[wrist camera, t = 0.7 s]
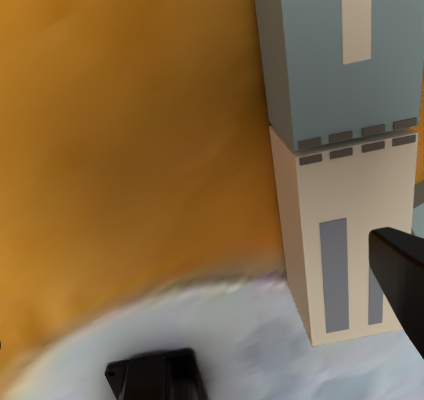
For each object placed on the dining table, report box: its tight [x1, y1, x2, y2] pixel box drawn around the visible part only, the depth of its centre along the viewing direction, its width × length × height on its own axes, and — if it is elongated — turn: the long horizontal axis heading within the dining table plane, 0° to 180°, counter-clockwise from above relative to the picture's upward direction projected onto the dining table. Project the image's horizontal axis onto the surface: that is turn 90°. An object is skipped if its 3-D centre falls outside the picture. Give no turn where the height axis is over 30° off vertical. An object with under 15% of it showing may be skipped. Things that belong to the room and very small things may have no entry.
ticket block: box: [269, 125, 418, 347], centre depth 19 cm, size 11×5×5 cm, turn 11°
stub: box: [255, 0, 424, 151], centre depth 15 cm, size 8×5×5 cm, turn 11°
